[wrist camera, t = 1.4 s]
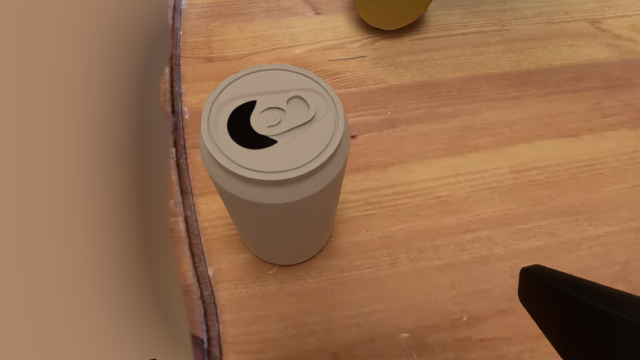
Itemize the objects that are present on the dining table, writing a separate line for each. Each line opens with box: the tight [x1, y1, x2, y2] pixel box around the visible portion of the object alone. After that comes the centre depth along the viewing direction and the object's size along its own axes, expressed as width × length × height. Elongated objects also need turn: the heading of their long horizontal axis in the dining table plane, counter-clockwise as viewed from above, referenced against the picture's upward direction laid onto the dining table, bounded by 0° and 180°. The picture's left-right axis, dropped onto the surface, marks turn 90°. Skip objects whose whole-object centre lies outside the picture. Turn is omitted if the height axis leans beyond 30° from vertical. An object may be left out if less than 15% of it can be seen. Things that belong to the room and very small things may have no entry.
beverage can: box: [199, 64, 350, 265], centre depth 19 cm, size 6×6×12 cm
